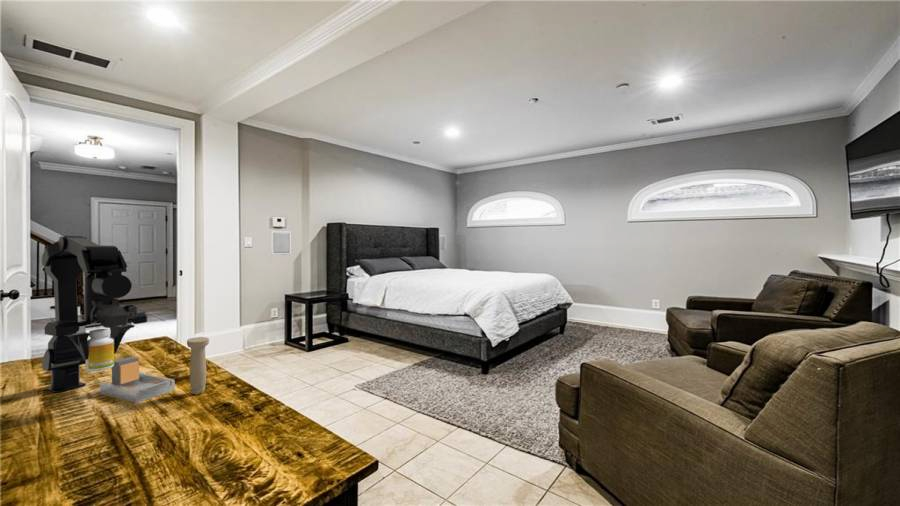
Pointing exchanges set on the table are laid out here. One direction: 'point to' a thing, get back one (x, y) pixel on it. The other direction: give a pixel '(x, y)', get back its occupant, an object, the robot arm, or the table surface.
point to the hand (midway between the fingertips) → (100, 356)
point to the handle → (197, 364)
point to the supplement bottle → (100, 350)
